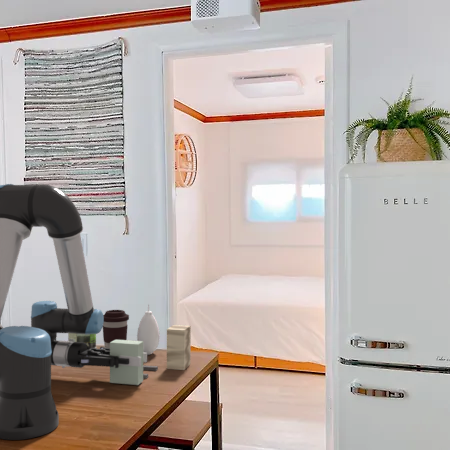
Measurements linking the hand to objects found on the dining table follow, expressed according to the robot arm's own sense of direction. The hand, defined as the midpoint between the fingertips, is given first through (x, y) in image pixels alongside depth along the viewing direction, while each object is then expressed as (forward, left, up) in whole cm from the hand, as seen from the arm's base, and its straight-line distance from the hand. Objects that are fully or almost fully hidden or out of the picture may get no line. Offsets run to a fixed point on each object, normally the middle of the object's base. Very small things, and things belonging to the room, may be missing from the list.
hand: (143, 359), depth 160 cm
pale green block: (-1, +5, -7) cm, 9 cm away
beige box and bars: (+14, +5, -7) cm, 17 cm away
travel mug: (+25, +31, -8) cm, 40 cm away
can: (+23, +45, -8) cm, 51 cm away
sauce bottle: (+29, +19, -8) cm, 35 cm away
